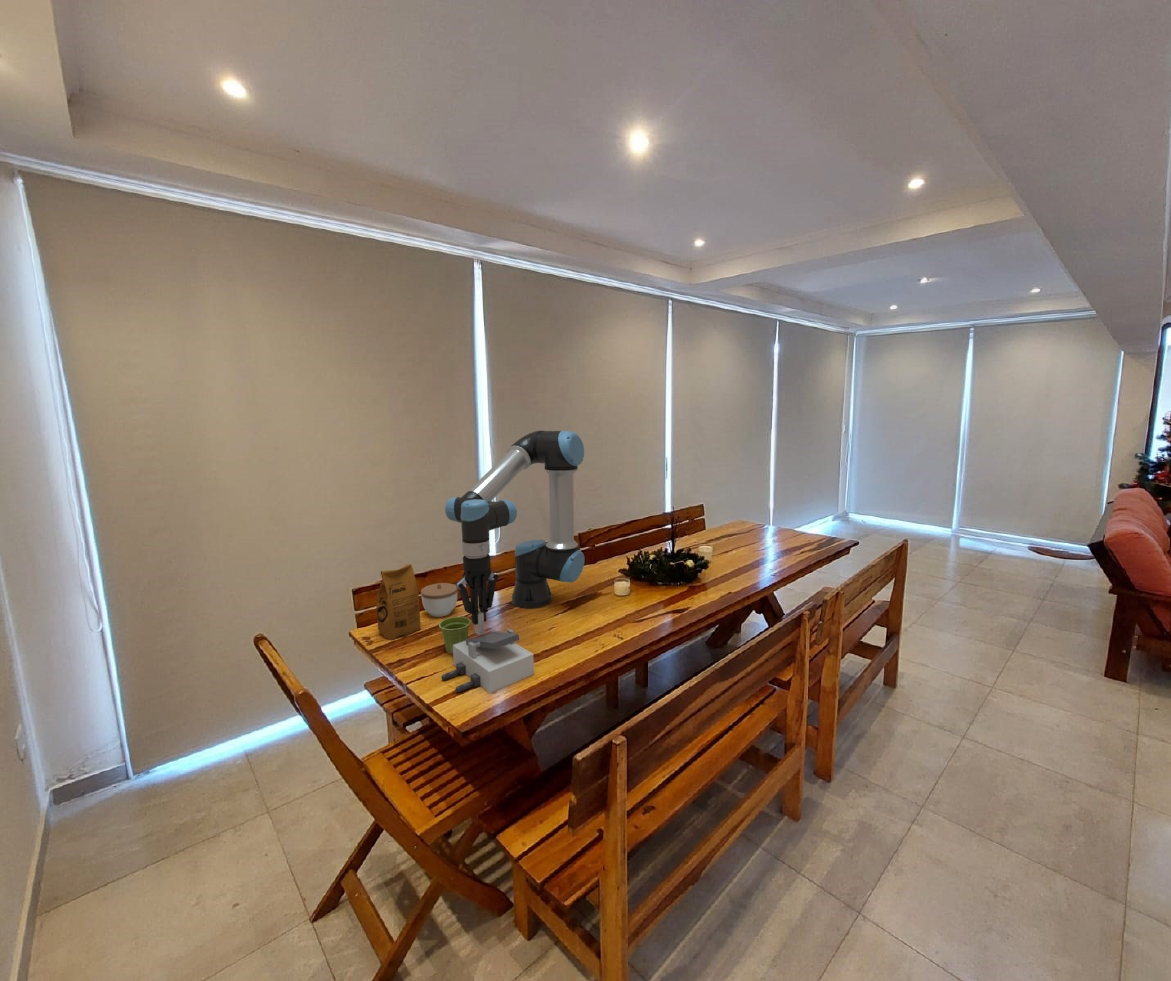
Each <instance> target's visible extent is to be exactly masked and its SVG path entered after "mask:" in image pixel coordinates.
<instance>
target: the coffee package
mask: <svg viewBox="0 0 1171 981" xmlns="http://www.w3.org/2000/svg"><path fill="white" fill-rule="evenodd" d="M380 576H381V577H380V578H381V580H380V584H379V585H380V586H379V589H378V591H377V596H376V618H377V630H378V632H379V635H382V636H383V637H384V638H385V639H387V640H391V641H393V640H395V639H397V638H399V637H401V636H408V635H411V634H412V633H415V632H416V631H419V630H420V629H421V612H420V610H421V609H420V608H421V607H420V598H419V595H420V594H419V588H418V583H417V578H416V576H415V572H414V568H413V565H412V564H411V563H408V564H406V565H404V566H402V567H400V568H399V569H392V570H381V571H380Z"/></svg>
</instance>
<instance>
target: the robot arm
mask: <svg viewBox="0 0 1171 981" xmlns="http://www.w3.org/2000/svg"><path fill="white" fill-rule="evenodd" d="M584 457H585V447H584V444H583V440H582V438H581V437H580V435H579V434H577V433H576V432H574V431H568V430H536V431H533V432H530V433H528V434H526V435H524V436H522V437H520V438H519V439H518V440H516V441H515V442H514V443H512V444H511V445H510V446H509V447H508V448H507V450H506V454H505V455H504V456H503V457H502V458H501V459H500V460H499V461H497V463H495V464H494V466H492V467H491V468H490V470H488V471H487V472H486V473H485V474H484V475H483V476H482V477H481V478H480V479H478V481H477V482H475V484H473V486H471V487H470V489H468V490H467V492H465V493H464V494H463V495H462V496H461V497H459V496H455V497H451V498H449V499H448V500H447V502H446V504H445V506H444V512H445V515H446V518H447V519H448V520H450V521H452V522H457V523H459V524H461V536H462V537H461V539H462V542H461V544H462V546H461V548H462V555H463V557H462V564H463V565H462V567H463V574H462V578H461V579H460V580H459V581H455V584H454V585H456V587H457V590H458V592H459V595H460V598H461V601H462V605H463V608H464V611H465V612H466V613H467V614H469V615H471V624H473V626H474V634H476V635H479V636H480V635H483V634H484V633H485V623H486V622H487V613H488V611H489V610H488V609H492V607H493V602H494V597H495V591H496V585H497V581H498V579H499V577H500V576H499V574H497V573H494V572H492V569H491V555H490V552H491V551H490V546H491V545H490V531H492V530H496V529H499V528H502V527H506V526H508V525H510V524H512V523H513V522H515V520H516V519H517V515H518V510H517V506H516V505H515V503H513V501H511V500H509V499H504V500H503V499H502V500H501V499H500V500H498V501H494V500H495V498H496V497H497V496H498V495H499V494H500V493H501V492H502V491H503V490H504V489H505V487H506V486H508V485H509V484H510V483H511V481H513V480H514V478H515V477H516V476H518V475H519V473H520V472H521V471H522V470H526V469H528V468H530V466H532V465H534V464H544V472H546V473H547V474H548V487H549V488H548V490H549V491H548V494H549V496H548V498H549V500H548V502H549V505H548V506H549V508H548V509H549V540H548V541H547V542H546V541H545V540H544V539H532V540H527V541H522V542H520V543H518V544H516V546H515V548H514V549H515V550H514V551H515V552H514V563H515V564H514V565H515V567H514V568H515V584H514V588H513V591H512V595H511V603H512V604H513V606H516V607H518V608H522V609H523V608H524V609H536V608H537V609H539V608H541V607H545V606H547V605H549V604H551V603H552V598H553V597H552V592H551V589H550V586H549V584H548V580H553V581H557V582H561V583H574V582H575V581H577V580H578V579H579V578H580V576H581V574H582V572H583V569H584V567H585V566H584V565H585V555H584V553H583V552H582V551H581V550H579V543H578V542H577V541H576V540H575V538H574V534H575V533H574V532H575V530H574V528H575V527H574V526H575V525H574V523H575V522H574V521H575V520H574V513H575V512H574V509H575V508H574V475H575V473H576V472H577V471H578V468H579V465H581V464H582V463H583V461H584ZM547 579H548V580H547ZM466 584H467V585H468V590H469V594H468V590H467V585H466Z"/></svg>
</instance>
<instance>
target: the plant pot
mask: <svg viewBox="0 0 1171 981" xmlns="http://www.w3.org/2000/svg"><path fill="white" fill-rule="evenodd" d="M471 624H472V619H470V618H469V617H466V616H453V617H452V616H450V617H448V618H445V619H443V620H441V621H440V622H439V623H438V627H439V629H440V631H441V632H442V633H441V634H442V638H443V642H444V646H445V651H446V652H447V653H449V654H453V645H454V644H457V643H460V642H463V641H466V640H465V639H468V638H469V637H468V634H469V629H470V625H471Z"/></svg>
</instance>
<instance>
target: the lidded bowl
mask: <svg viewBox="0 0 1171 981" xmlns="http://www.w3.org/2000/svg"><path fill="white" fill-rule="evenodd" d="M420 595H421V602H422V606H423V608H424V610H425V611H426V612H427V613H428V614H429V615H430V616H431V617H434V618H442V617H446V616H448V615H450V614H451V613H452V611H453V610H454V609H455V607H456V606H457V601H458V588H457V587H456V585H455V584H454V583H449V582H440V583H432V584H429V585H426V586H424V587H422V588H421V590H420Z"/></svg>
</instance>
